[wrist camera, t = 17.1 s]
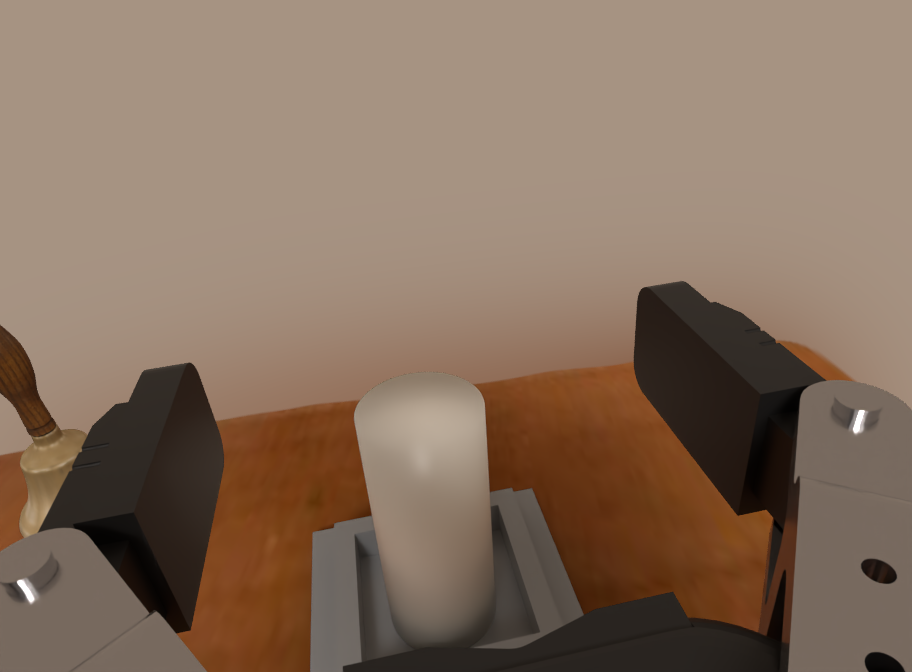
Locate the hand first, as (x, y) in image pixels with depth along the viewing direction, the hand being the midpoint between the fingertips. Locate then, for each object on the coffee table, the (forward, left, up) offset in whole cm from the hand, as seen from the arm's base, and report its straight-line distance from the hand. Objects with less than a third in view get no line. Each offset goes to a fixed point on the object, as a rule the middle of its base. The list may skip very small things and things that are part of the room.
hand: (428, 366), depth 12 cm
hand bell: (-25, +30, -26) cm, 47 cm away
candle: (0, +14, -25) cm, 29 cm away
